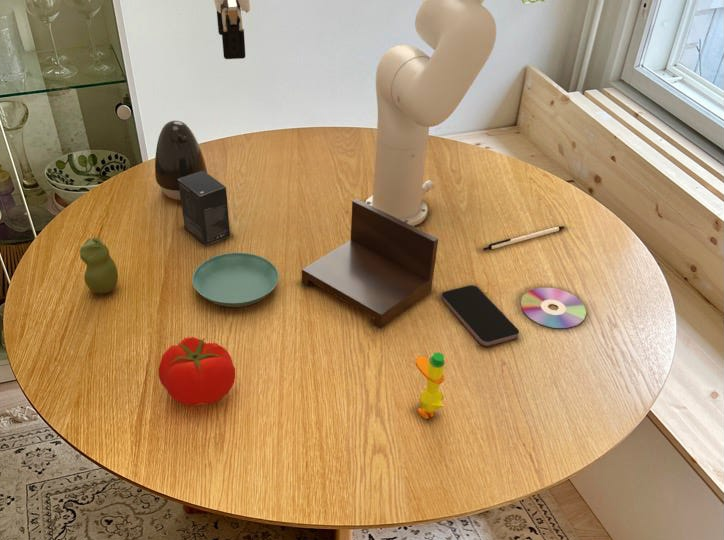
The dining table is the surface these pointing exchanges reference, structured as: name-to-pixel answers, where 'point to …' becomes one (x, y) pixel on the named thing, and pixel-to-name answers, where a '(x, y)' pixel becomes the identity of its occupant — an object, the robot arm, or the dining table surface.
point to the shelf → (377, 265)
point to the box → (204, 207)
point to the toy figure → (431, 383)
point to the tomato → (196, 372)
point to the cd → (564, 317)
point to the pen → (522, 238)
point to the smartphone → (479, 315)
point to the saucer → (235, 279)
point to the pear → (98, 266)
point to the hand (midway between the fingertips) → (231, 45)
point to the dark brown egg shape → (176, 157)
